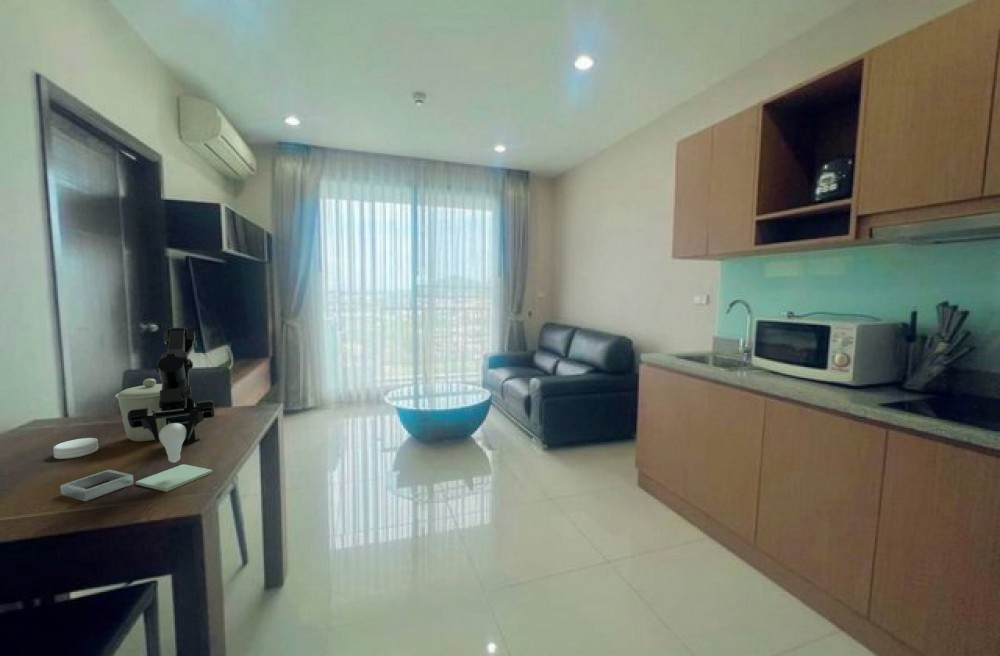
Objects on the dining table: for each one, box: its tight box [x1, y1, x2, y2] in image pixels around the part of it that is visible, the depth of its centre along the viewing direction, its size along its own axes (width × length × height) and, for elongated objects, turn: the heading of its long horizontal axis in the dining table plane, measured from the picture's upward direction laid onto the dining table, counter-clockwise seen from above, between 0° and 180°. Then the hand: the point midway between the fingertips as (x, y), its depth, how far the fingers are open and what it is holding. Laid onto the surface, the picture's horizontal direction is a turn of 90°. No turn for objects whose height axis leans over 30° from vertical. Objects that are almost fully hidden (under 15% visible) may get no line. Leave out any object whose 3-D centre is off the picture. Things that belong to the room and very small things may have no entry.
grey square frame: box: [59, 469, 134, 502], centre depth 106 cm, size 10×10×2 cm
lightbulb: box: [159, 423, 187, 464], centre depth 112 cm, size 6×6×11 cm
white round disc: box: [52, 437, 100, 460], centre depth 130 cm, size 10×10×4 cm
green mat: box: [135, 464, 214, 493], centre depth 112 cm, size 12×12×1 cm
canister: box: [114, 378, 171, 442], centre depth 144 cm, size 18×18×21 cm
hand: (172, 440), depth 110 cm, fingers closed on lightbulb, 6 cm apart
